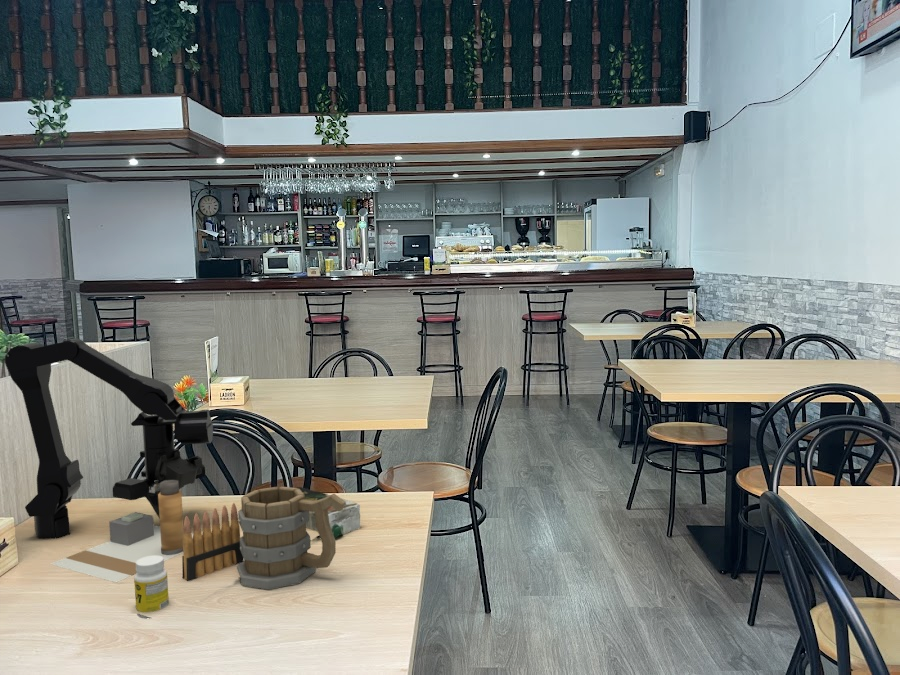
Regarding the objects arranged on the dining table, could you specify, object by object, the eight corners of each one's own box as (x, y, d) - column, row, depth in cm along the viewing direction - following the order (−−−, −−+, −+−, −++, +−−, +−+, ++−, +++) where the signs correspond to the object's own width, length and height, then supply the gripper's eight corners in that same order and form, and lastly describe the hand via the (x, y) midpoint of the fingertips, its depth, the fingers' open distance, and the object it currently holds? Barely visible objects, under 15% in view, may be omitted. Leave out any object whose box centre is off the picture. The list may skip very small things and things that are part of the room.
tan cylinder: (156, 552, 133) (151, 484, 132) (174, 544, 137) (170, 478, 135) (172, 556, 131) (167, 486, 130) (190, 548, 135) (186, 480, 133)
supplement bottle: (134, 609, 113) (131, 558, 112) (166, 602, 115) (163, 551, 114) (138, 622, 109) (134, 568, 108) (171, 614, 111) (168, 561, 110)
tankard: (223, 583, 122) (218, 497, 121) (267, 555, 134) (263, 476, 132) (326, 600, 115) (322, 508, 113) (363, 569, 127) (360, 485, 125)
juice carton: (366, 528, 147) (365, 499, 146) (330, 544, 139) (328, 513, 139) (302, 511, 159) (300, 484, 159) (265, 524, 152) (264, 496, 151)
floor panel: (49, 570, 129) (49, 564, 129) (152, 530, 148) (151, 524, 148) (116, 589, 120) (116, 582, 120) (215, 544, 140) (215, 538, 140)
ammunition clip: (187, 588, 120) (183, 518, 119) (182, 585, 122) (178, 516, 120) (244, 568, 128) (241, 502, 127) (238, 565, 129) (235, 500, 128)
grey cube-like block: (110, 541, 139) (108, 518, 139) (136, 531, 144) (135, 509, 144) (127, 545, 137) (126, 522, 136) (154, 535, 142) (152, 512, 142)
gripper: (147, 460, 134) (152, 542, 135) (222, 439, 150) (226, 512, 152) (108, 454, 139) (113, 533, 140) (184, 434, 155) (188, 505, 157)
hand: (163, 520), depth 147 cm, fingers closed
